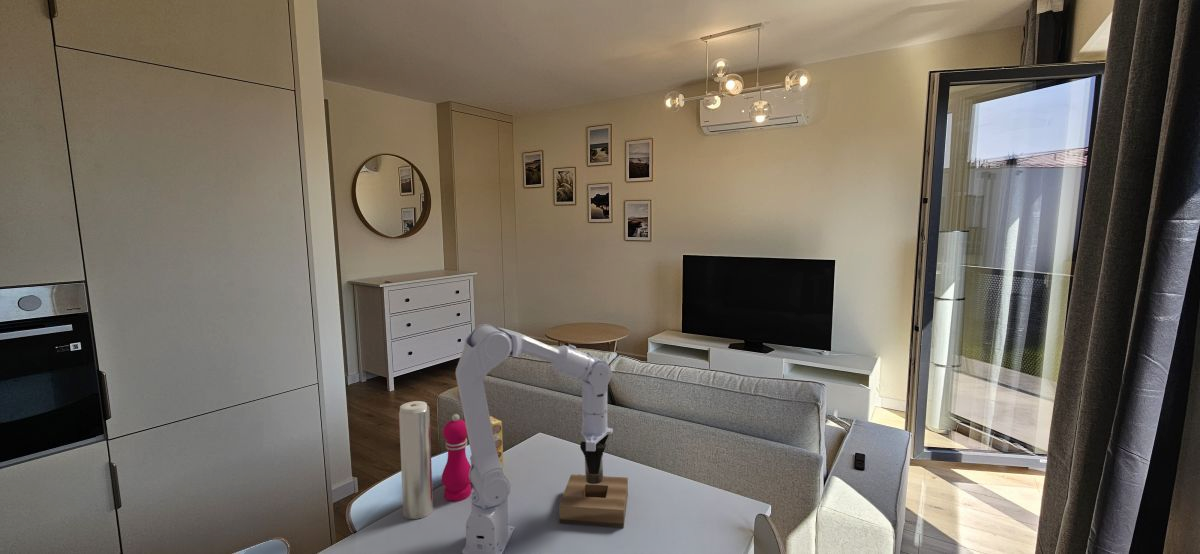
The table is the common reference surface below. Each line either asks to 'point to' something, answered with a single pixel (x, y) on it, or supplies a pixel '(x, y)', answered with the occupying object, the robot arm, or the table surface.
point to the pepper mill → (456, 461)
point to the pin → (594, 477)
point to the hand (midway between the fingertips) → (595, 468)
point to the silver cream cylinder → (416, 459)
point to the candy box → (498, 437)
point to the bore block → (594, 502)
